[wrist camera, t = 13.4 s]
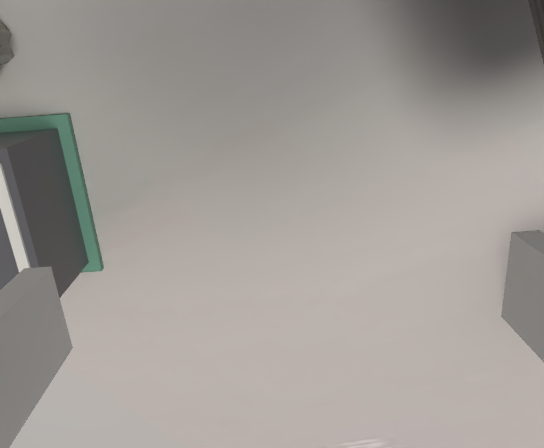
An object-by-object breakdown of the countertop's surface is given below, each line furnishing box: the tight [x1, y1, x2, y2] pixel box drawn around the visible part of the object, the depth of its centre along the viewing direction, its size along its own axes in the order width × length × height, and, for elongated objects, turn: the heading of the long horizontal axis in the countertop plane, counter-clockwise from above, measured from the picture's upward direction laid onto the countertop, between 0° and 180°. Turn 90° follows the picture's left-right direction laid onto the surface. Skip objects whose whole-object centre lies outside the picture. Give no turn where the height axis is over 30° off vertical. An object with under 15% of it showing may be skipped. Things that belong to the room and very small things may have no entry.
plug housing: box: [0, 128, 89, 298], centre depth 35 cm, size 12×6×8 cm, turn 4°
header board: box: [0, 113, 104, 273], centre depth 37 cm, size 14×8×6 cm, turn 4°
